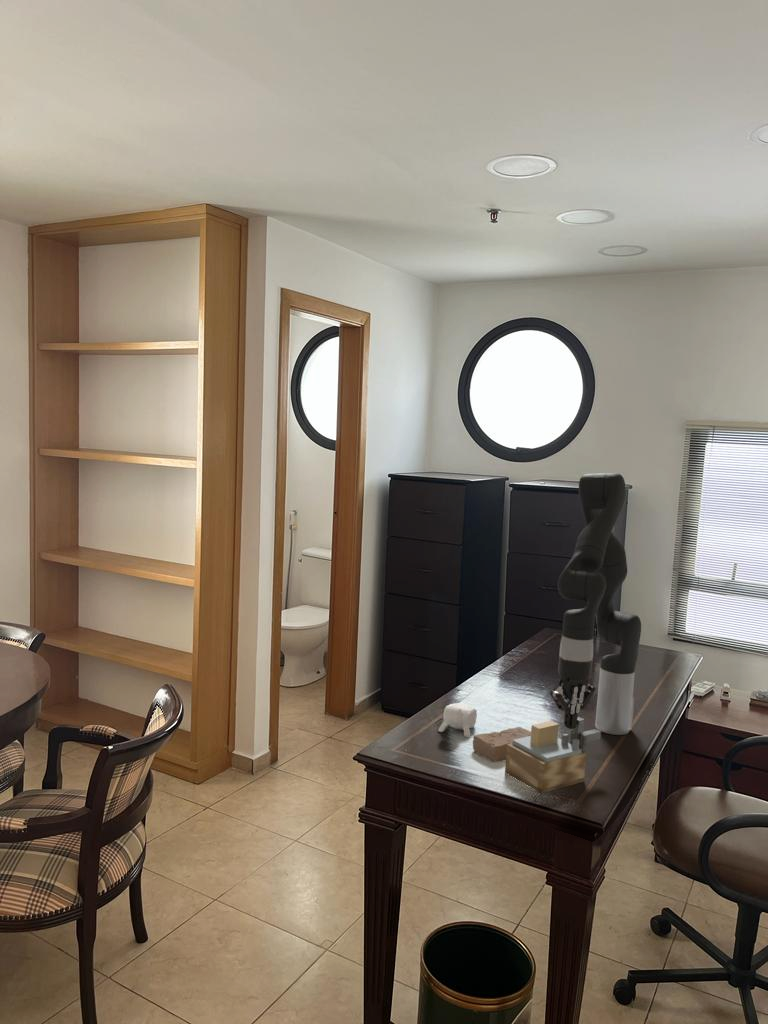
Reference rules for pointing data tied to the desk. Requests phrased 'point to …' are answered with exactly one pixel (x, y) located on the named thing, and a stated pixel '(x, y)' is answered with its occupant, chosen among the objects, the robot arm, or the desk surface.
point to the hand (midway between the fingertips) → (570, 727)
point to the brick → (497, 742)
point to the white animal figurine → (459, 717)
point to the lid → (548, 743)
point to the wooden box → (546, 768)
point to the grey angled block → (579, 732)
